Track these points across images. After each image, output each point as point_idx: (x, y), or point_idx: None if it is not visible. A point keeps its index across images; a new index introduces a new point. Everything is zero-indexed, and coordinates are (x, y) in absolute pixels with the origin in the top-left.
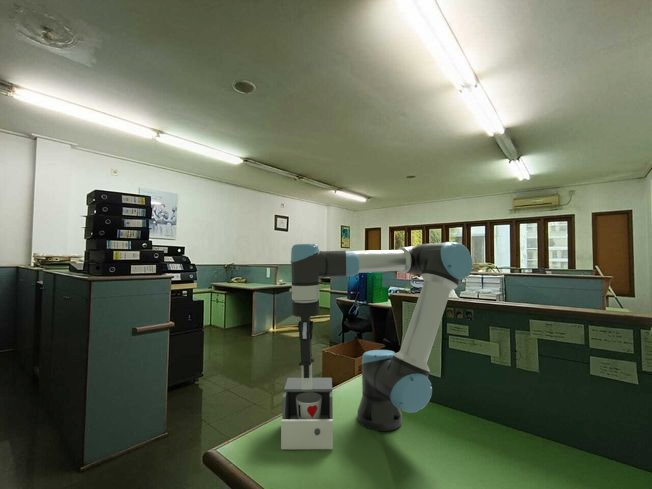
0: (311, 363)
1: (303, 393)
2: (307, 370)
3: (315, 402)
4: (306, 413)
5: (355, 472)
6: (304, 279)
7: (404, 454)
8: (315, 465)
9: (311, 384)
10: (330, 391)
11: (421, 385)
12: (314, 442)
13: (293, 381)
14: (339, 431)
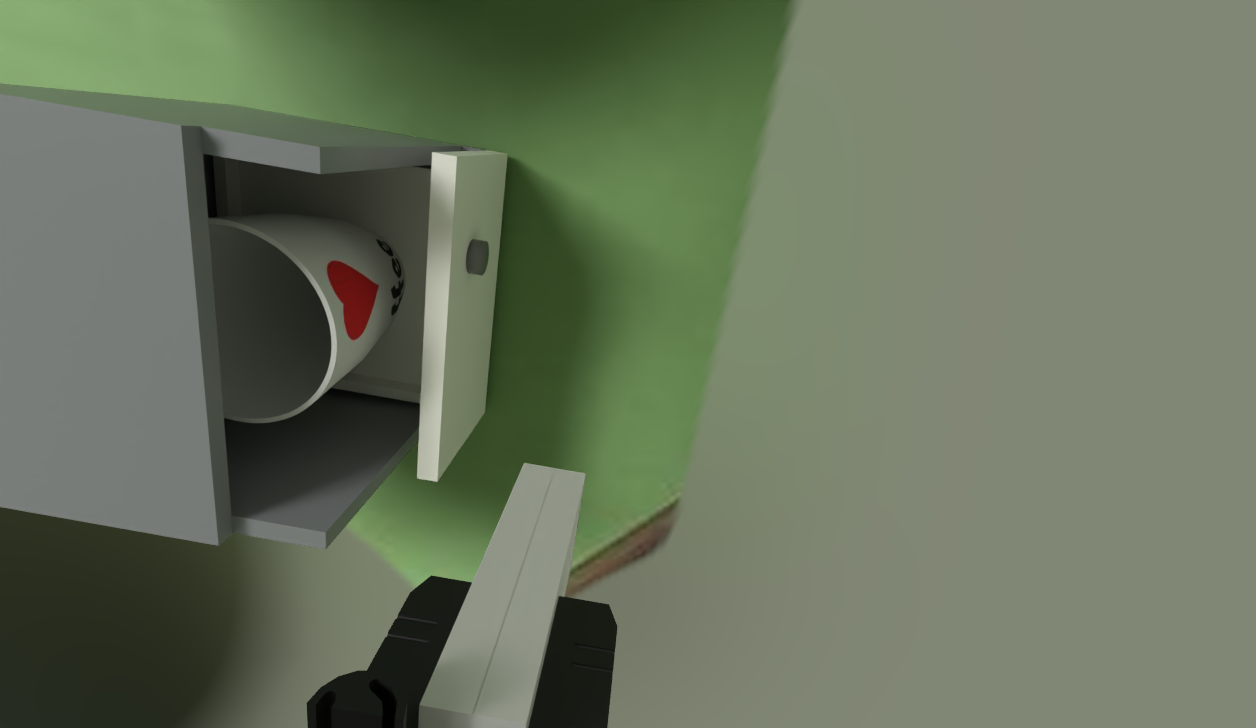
0: (458, 714)
1: None
2: (604, 718)
3: (318, 286)
4: (368, 333)
5: (700, 64)
6: None
7: None
8: (613, 264)
9: (577, 506)
10: (202, 145)
11: None
12: (489, 261)
13: (57, 466)
14: (325, 72)
